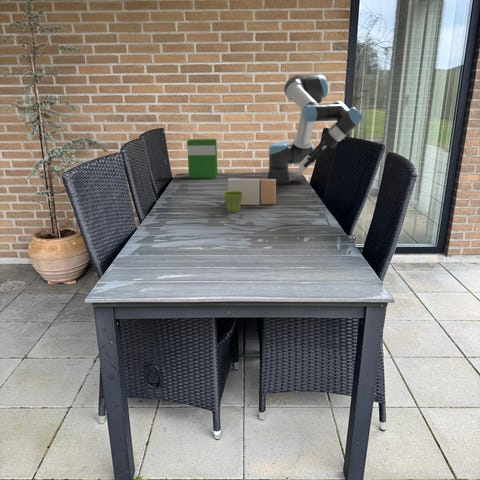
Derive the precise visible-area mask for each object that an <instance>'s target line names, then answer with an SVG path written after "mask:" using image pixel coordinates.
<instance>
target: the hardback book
mask: <svg viewBox="0 0 480 480" xmlns="http://www.w3.org/2000/svg"><path fill="white" fill-rule="evenodd" d="M217 142H218V141H217V139H216V138H207V139H206V138H205V139H204V138H203V139H202V138H200V139H199V138H198V139H197V138H196V139H191V138H190V139H188V140H186V147H187V148H186V149H187V162H188V163H187V164H188V165H187V167H188V178H216V179H217V177H216V176H219V173H218V171H219V170H218V149H217V148H218V147H217Z"/></svg>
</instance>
